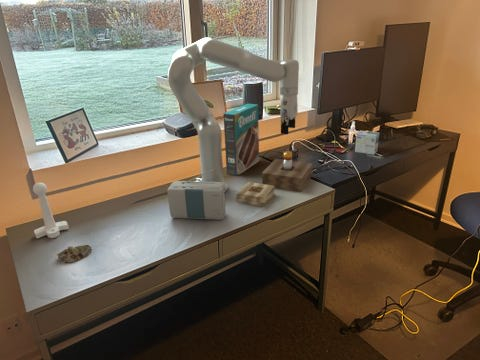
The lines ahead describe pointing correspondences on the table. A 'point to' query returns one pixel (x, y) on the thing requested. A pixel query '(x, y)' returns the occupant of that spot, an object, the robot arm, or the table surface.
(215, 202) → the stereo radio cassette player
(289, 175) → the block
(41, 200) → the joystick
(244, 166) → the cake mix box
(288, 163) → the orange capped bottle
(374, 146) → the light bulb box
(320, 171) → the hacksaw
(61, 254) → the mineral rock
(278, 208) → the table surface
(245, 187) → the stand
